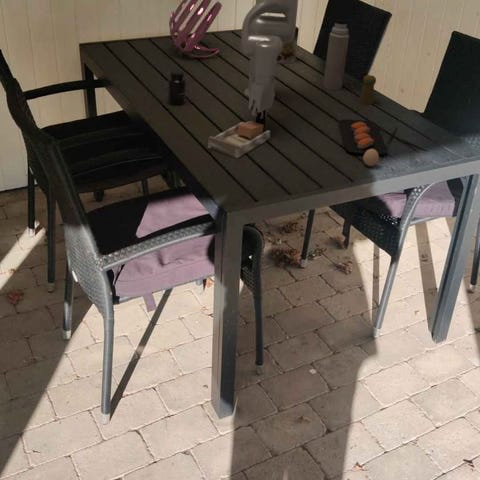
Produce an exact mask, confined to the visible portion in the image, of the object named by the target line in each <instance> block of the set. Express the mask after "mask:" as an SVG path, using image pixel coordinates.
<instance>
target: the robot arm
mask: <svg viewBox="0 0 480 480" xmlns="http://www.w3.org/2000/svg"><path fill="white" fill-rule="evenodd" d="M298 2H299V0H255V4H254V6H253V7H252V8H251V9H250V10H249V11H248V12H247V14H246V15H245V17H244V19H243V23H242V27H241V38H240V39H241V41H240V48H241V49H240V50H241V52H242V54H243V55H244V56H247V57H250V58H249V73H248V75H249V76H248V87H247V88H246V89H245V90H244V92H243V94H244V96H245V97H247V98H248V99H249V100H248V106H247V107H248V110H249V111H252V112H251V116H254V117H255V122H256V123H259V124H263V125H264V126H263V129H264V128H266V121H267V119H266V118H267V116H268V111H269V110H270V108H271V107H272V106H274V100H275V97H276V92H275V86H276V85H277V81H276V80H275V79H276V68H277V63H276V59H277V57H278V55H279V54H280V53H281V51H282V42H284V43H288V42H291V41H292V40H293V39H294V36H295V29H296V27H297V26H296V25H297V16H298V6H299V3H298ZM265 14H279V16H277V15H265ZM280 15H284V16H280Z"/></svg>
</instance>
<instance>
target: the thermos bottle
mask: <svg viewBox="0 0 480 480" xmlns="http://www.w3.org/2000/svg"><path fill="white" fill-rule="evenodd" d="M347 27H348V20H346V19H339V18H336V19H335V20H334V26H332V29H331V32H329V35H328V36H329V37H328V43H327V45H328V46H327V52H326V53H327V54H326V62H325V70H324V75H323V84H322V86H323V88H325V89H327V90H331V91H335V90H336V91H338V90H341V89H342V87H343V81H344V73H345V67H346V62H347V61H346V59H347V54H348V53H347V52H348V47H349V39H350V35H349V28H347Z"/></svg>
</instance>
